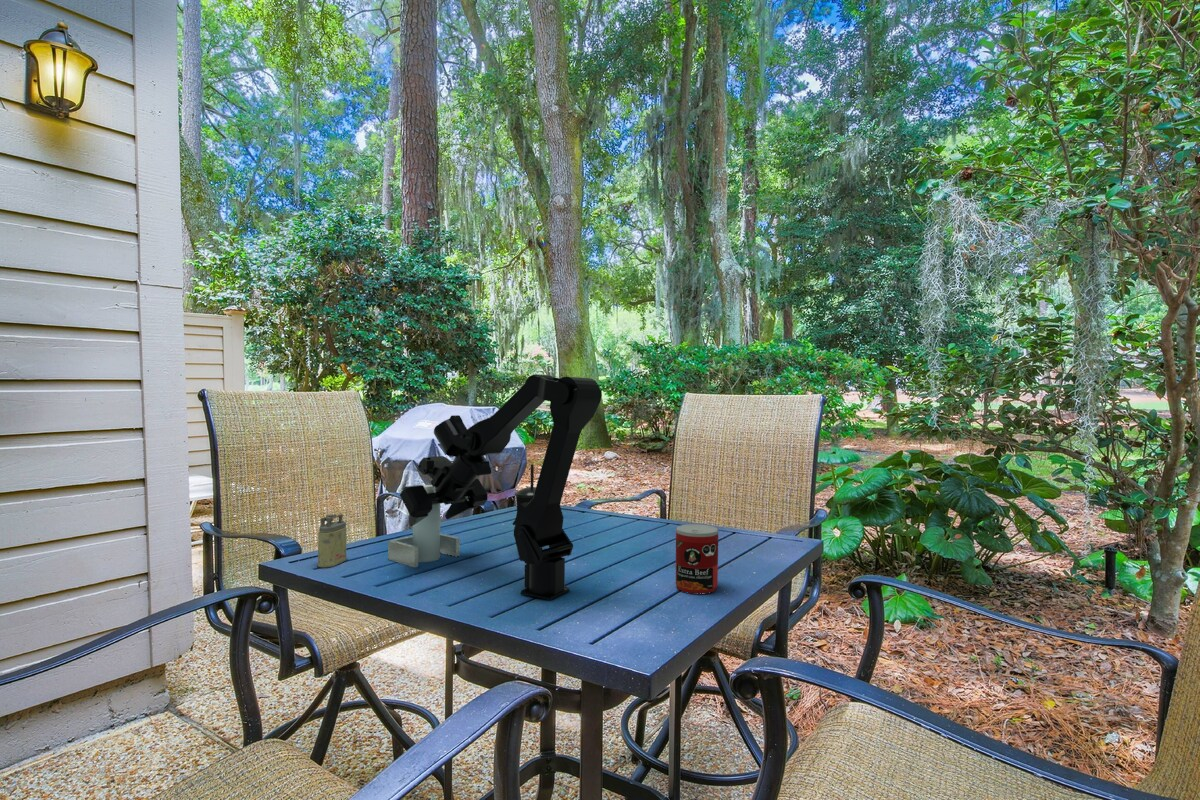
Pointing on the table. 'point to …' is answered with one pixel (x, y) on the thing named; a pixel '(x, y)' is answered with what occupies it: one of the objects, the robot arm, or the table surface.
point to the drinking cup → (526, 492)
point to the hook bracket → (408, 553)
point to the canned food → (696, 558)
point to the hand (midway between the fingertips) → (428, 521)
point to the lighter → (332, 541)
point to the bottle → (428, 533)
